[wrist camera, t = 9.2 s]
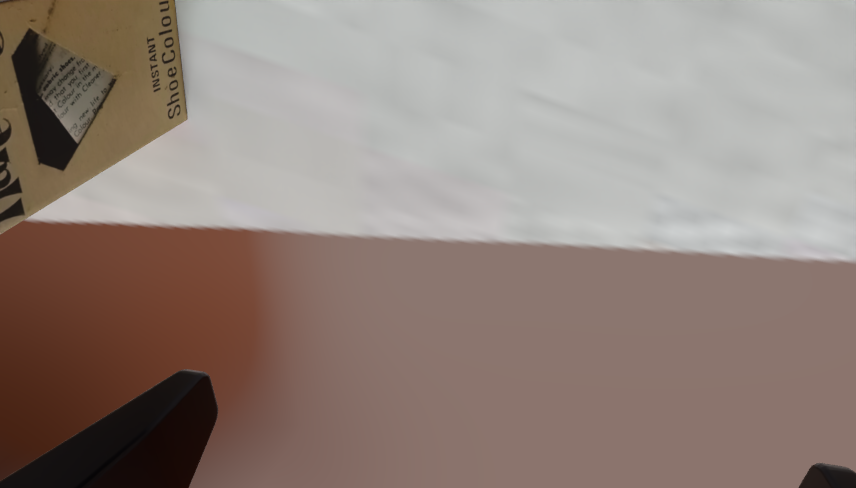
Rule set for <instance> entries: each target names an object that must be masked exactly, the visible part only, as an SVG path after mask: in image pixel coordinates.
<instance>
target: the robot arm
mask: <svg viewBox="0 0 856 488" xmlns="http://www.w3.org/2000/svg"><path fill="white" fill-rule="evenodd" d="M217 416H218V405H217V402H216V398H215V394H214V390H213V386H212V383H211V379H210V376H209V375H208V374H207V373H205V372H201V371H193V370H187V369H185V370H181V371H178V372H176V373H175V374H173V375H172V376H170V377H168V378H167V379H165V380H164V381H162V382H160V383H159V384H157V385H155V386H154V387H152V388H150V389H149V390H147V391H146V392H144V393H142V394H141V395H139V396H137V397H136V398H134V399H133V400H131V401H130V402H128V403H126V404H125V405H123V406H121V407H120V408H118V409H117V410H115V411H113V412H112V413H110V414H108V415H107V416H105V417H103V418H102V419H100V420H99V421H97V422H95V423H94V424H92V425H91V426H89V427H87V428H86V429H84V430H83V431H81V432H79V433H78V434H76V435H74V436H73V437H71V438H69V439H68V440H67V441H65V442H63V443H61V444H60V445H58V446H56V447H55V448H53V449H52V450H50V451H48V452H47V453H45V454H43V455H42V456H40V457H39V458H37V459H35V460H34V461H32V462H31V463H29V464H27V465H26V466H24V467H22V468H21V469H19V470H18V471H16V472H14V473H13V474H11V475H9V476H8V477H6V478H5V479H3V480H1V481H0V488H189V486H190V484H191V481H192V479H193V476H194V474H195V472H196V469H197V467H198V464H199V462H200V460H201V457H202V454H203V452H204V450H205V447H206V445H207V442H208V440H209V438H210V435H211V433H212V430H213V428H214V426H215V423H216V420H217ZM799 488H856V473H855V472H854V471H852V470H851V469H849V468H846V467H842V466H836V465H829V464H823V463H817V464H815V465H813V466H812V467H811V468H810V469H809V471H808V473H807V474H806V476H805V478H804V479H803V481H802V483H801V484H800V486H799Z"/></svg>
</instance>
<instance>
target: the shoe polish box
mask: <svg viewBox="0 0 856 488" xmlns="http://www.w3.org/2000/svg"><path fill="white" fill-rule="evenodd" d="M186 120H187V112H186V103H185V94H184V84H183V75H182V66H181V57H180V48H179V39H178V29H177V20H176V11H175V2H174V0H0V234H1V233H3V232H5V231H7V230H8V229H10V228H11V227H13V226H15V225H16V224H18V223H20V222H21V221H23V220H24V219H26V218H28V217H29V216H31V215H33V214H34V213H36V212H37V211H39V210H41V209H42V208H44V207H46V206H47V205H49V204H50V203H52V202H54V201H55V200H57V199H59V198H60V197H62V196H64V195H65V194H67V193H68V192H70V191H72V190H73V189H75V188H77V187H78V186H80V185H81V184H83V183H85V182H86V181H88V180H90V179H91V178H93V177H94V176H96V175H98V174H99V173H101V172H103V171H104V170H106V169H107V168H109V167H111V166H112V165H114V164H116V163H117V162H119V161H121V160H122V159H124V158H125V157H127V156H129V155H130V154H132V153H134V152H135V151H137V150H138V149H140V148H142V147H143V146H145V145H147V144H148V143H150V142H151V141H153V140H155V139H156V138H158V137H160V136H161V135H163V134H164V133H166V132H168V131H169V130H171V129H173V128H174V127H176V126H177V125H179V124H181V123H182V122H184V121H186Z"/></svg>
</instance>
